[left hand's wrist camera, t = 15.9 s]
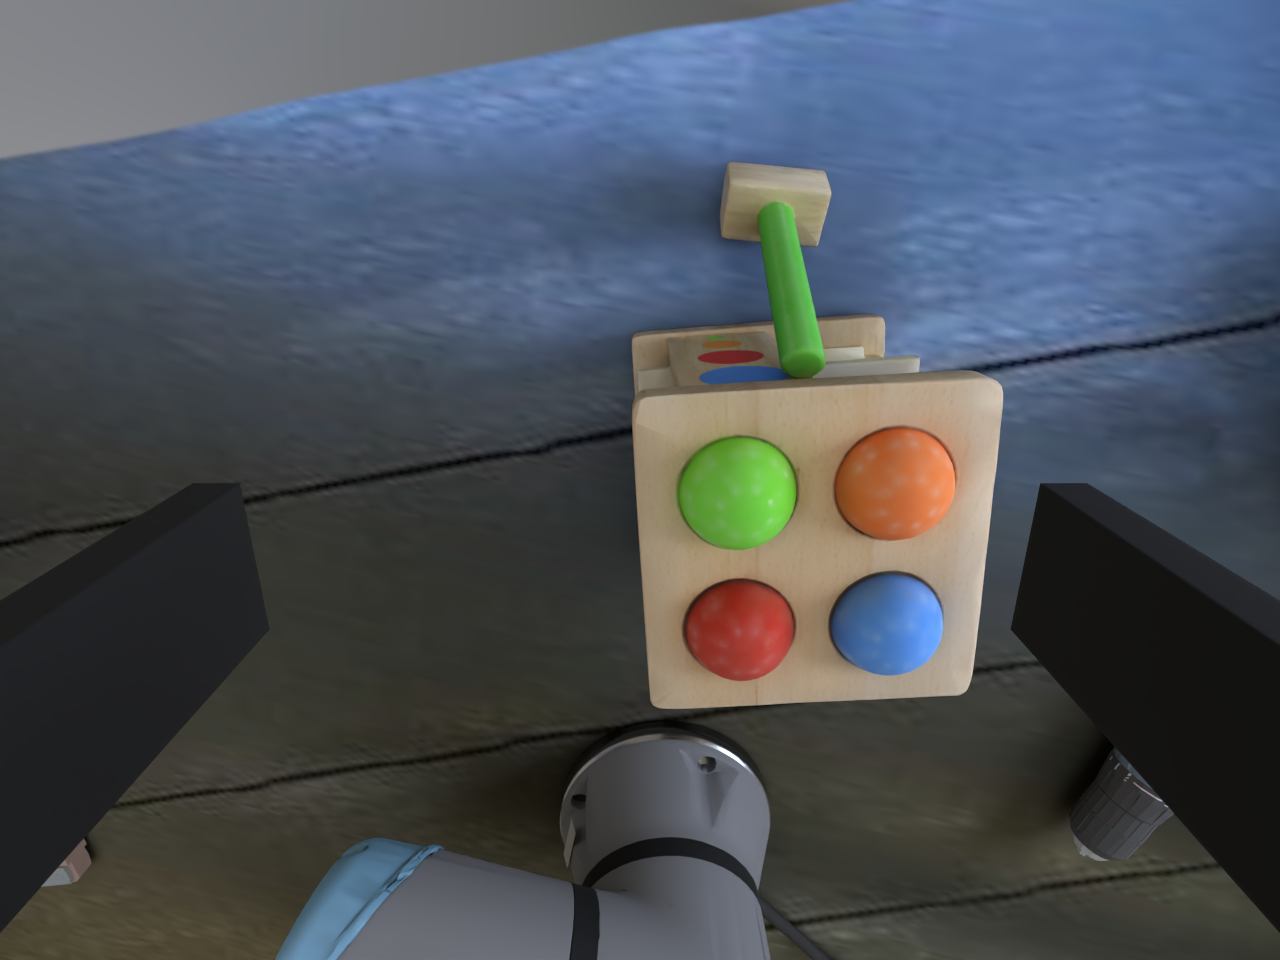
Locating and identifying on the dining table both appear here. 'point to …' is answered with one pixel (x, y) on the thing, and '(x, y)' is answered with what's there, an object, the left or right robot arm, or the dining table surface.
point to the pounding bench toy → (805, 490)
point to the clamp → (71, 867)
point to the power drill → (1116, 812)
